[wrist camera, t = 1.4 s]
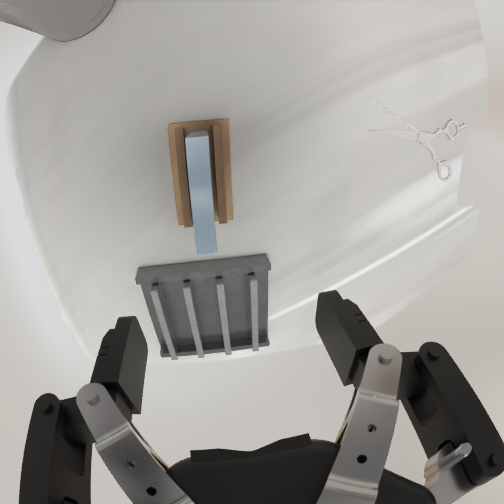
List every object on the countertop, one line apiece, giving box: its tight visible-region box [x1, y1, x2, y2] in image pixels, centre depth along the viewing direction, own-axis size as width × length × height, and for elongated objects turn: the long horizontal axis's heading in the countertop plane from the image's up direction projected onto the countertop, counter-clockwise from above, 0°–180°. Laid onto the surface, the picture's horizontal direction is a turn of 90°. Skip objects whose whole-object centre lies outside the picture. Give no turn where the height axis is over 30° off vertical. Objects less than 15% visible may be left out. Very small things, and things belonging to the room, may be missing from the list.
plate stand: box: [168, 119, 233, 227], centre depth 27 cm, size 6×11×3 cm, turn 2°
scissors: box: [370, 100, 466, 181], centre depth 30 cm, size 11×1×20 cm
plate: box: [185, 130, 217, 254], centre depth 23 cm, size 2×9×9 cm, turn 2°
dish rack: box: [135, 254, 271, 360], centre depth 35 cm, size 16×14×4 cm
